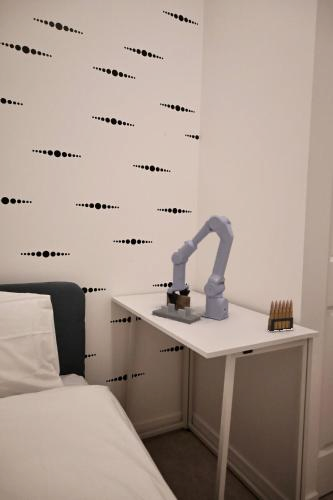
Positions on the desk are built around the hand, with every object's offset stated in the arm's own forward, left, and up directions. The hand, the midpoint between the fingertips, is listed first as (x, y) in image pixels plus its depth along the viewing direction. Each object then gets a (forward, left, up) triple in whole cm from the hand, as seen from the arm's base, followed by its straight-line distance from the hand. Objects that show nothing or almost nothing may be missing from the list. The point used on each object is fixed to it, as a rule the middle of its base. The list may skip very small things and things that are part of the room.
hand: (178, 306), depth 149 cm
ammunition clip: (-47, -3, -2) cm, 47 cm away
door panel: (0, 0, -2) cm, 2 cm away
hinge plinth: (-7, +11, -2) cm, 13 cm away
